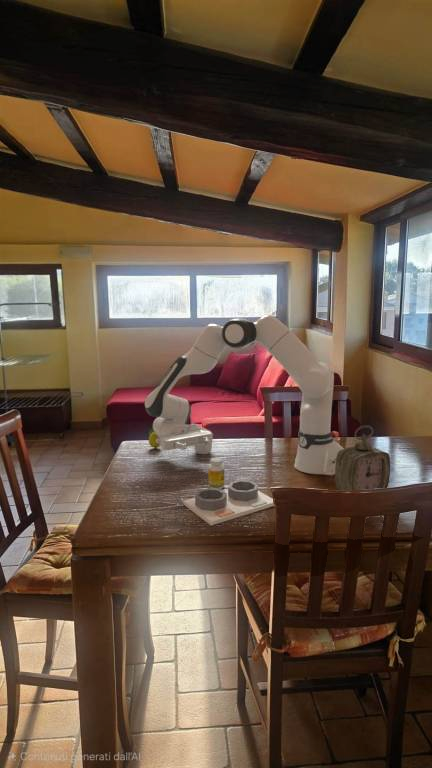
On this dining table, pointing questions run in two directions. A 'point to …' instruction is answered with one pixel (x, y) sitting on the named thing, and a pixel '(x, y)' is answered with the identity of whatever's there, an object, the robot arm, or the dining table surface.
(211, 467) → the supplement bottle
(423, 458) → the dining table surface
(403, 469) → the dining table surface
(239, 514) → the socket board
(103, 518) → the dining table surface
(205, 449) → the cup
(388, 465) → the tabletop clock
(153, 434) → the lemon
